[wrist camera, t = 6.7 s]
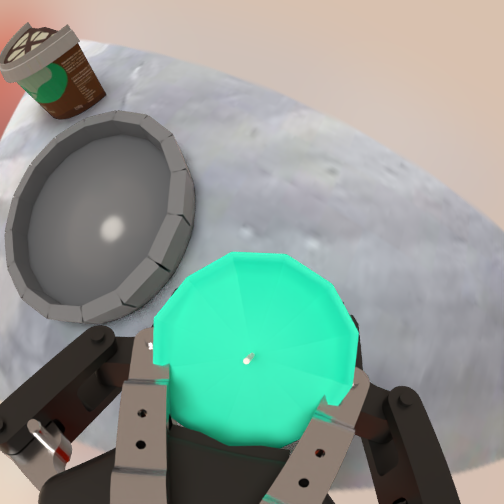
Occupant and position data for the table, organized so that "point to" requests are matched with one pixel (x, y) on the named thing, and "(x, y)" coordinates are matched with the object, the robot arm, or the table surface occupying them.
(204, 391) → the candle
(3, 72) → the food container
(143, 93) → the table surface
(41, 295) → the plate
